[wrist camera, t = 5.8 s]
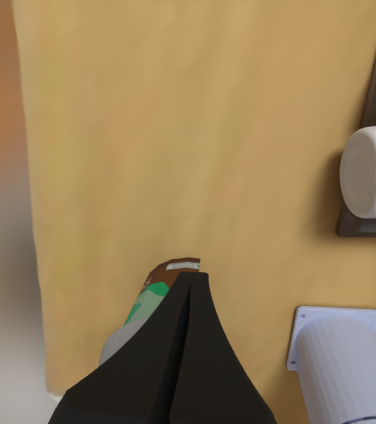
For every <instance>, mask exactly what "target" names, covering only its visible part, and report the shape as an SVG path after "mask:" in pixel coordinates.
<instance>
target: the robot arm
mask: <svg viewBox="0 0 376 424" xmlns="http://www.w3.org/2000/svg"><path fill="white" fill-rule="evenodd" d="M302 314H303V315H302ZM286 365H287V369H288V370H290V371H297V374H298V378H299V382H300V386H301V390H302V394H303V397H304V401H305V405H306V409H307V413H308V417H309V421H310V424H376V309H355V308H335V307H314V306H300V307H298V308H297V310H296V315H295V321H294V326H293V332H292V337H291V343H290V348H289V354H288V359H287V364H286ZM48 424H277V423H276V421H275V418H274V416H273V413H272V411H271V410H270V408H269V407H268V405H267V404H266V403H265V401H264V400H263V398H262V397H261V396H260V394H259V393H258V391H257V390H256V388H255V387H254V385H253V384H252V382H251V380H250V379H249V377H248V376H247V374H246V372H245V371H244V369H243V367H242V365H241V364H240V362H239V360H238V359H237V357H236V355H235V353H234V351H233V349H232V347H231V345H230V343H229V341H228V339H227V337H226V335H225V333H224V330H223V328H222V326H221V323H220V321H219V318H218V316H217V313H216V310H215V307H214V303H213V300H212V297H211V293H210V288H209V281H208V274H207V273H204V272H182V271H181V272H179V273H178V275H177V277H176V279H175V281H174V283H173V284H172V286H171V287H170V289H169V291H168V292H167V294H166V295H165V297H164V298H163V300H162V301H161V303H160V304H159V305H158V307H157V308H156V309H155V311H154V312H153V313H152V314H151V316H150V317H149V318H148V319H147V321H146V322H145V323H144V324H143V325H142V326H141V328H140V329H139V330H138V331H137V332H136V333H135V334H134V335H133V336H132V337H131V338H130V339H129V340H128V341H127V342H126V343H125V344H124V345H123V346H122V347H121V348H120V349H119V350H118V351H117V352H116V353H115V354H113V355H112V356H111V357H110V358H109V359H107V360H106V361H105V362H104V363H103V364H102V365H100V366H99V367H98V368H97V369H96V370H94V371H93V372H92V373H90V374H89V375H88V376H86V377H85V378H84V379H82V380H81V381H80V382H78V383H77V384H75V385H74V386H73V387H71V388H70V389H68V390H67V391H66V393H65V394H64V396H63V398H62V399H61V401H60V402H59V404H58V406H57V408H56V409H55V411H54V413H53V415H52V417H51V419H50V420H49V423H48Z"/></svg>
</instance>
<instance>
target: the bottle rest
mask: <svg viewBox="0 0 376 424" xmlns="http://www.w3.org/2000/svg"><path fill="white" fill-rule="evenodd" d="M372 126H376V62H375V66H374V70H373V74H372V79H371V83H370V87H369V91H368V96H367V100H366V104H365V109H364V113H363V117H362V121H361V126H360V129H362V128H365V127H372ZM336 234H337V236H338V237H376V218H360V217H358V216H356V215H354V214H353V213H352V212H351V211H350V209H349V208H348V206H347V205H346V203H345V200H344V198H343V203H342V207H341V211H340V215H339V220H338V224H337V228H336Z"/></svg>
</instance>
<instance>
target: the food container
mask: <svg viewBox="0 0 376 424" xmlns="http://www.w3.org/2000/svg"><path fill="white" fill-rule="evenodd" d="M199 266H200V259H197V258H188V257H187V258H179V259H172V260H169V261H167V262H164V263H162V264H160V265H158V266H157V267H156V268H155V269H154V270H153V271H152V272H151V273H150V274H149V276H148V278H147V280H146V282H145V284H144V286H143V288H142V290H141V292H140V294H139V296H138V298H137V300H136V302H135V304H134V306H133V308H132V310H131V312H130V314H129V316H128V318H127V320H126V322H125V324H124V326H123V327H121V328H119V329H118V330H116V331H115V332H114V333H113V334H112V335H111V336H110V337H109V338H108V340H107V341H106V342H105V344H104V347H103V349H102V353H101V358H100V362H99V366H100V365H102V364H103V363H104V362H105V361H106V360H107V359H109V358H110V357H111V356H112V355H113V354H115V353H116V352H117V351H118V350H119V349H120V348H121V347H122V346H123V345H124V344H125V343H126V342H127V341H128V340H129V339H130V338H131V337H132V336H133V335H134V334H135V333H136V332H137V331H138V330H139V329H140V328H141V326H142V325H143V324H144V323H145V322H146V321H147V319H148V318H149V317H150V316H151V314H152V313H153V312H154V311H155V309H156V308H157V307H158V305H159V304H160V303H161V301H162V300H163V298H164V297H165V295H166V294H167V292H168V291H169V289H170V287H171V286H172V284H173V283H174V281H175V279H176V277H177V275H178V273H179V272H181V271H182V272H199Z"/></svg>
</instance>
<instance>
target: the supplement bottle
mask: <svg viewBox="0 0 376 424" xmlns="http://www.w3.org/2000/svg"><path fill="white" fill-rule="evenodd" d="M340 186H341V191H342V194H343V198H344V200H345V203H346V205H347V206H348V208H349V209H350V211H351V212H352V213H353V214H354V215H356V216H358V217H360V218H376V126H372V127H365V128H362V129H359V130H357V131H356V132H355V133H353V134H352V135H351V137H350V138H349V139H348V141H347V143H346V145H345V148H344V151H343V154H342V158H341V164H340Z"/></svg>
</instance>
